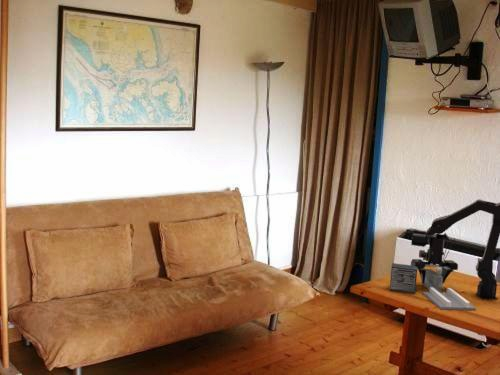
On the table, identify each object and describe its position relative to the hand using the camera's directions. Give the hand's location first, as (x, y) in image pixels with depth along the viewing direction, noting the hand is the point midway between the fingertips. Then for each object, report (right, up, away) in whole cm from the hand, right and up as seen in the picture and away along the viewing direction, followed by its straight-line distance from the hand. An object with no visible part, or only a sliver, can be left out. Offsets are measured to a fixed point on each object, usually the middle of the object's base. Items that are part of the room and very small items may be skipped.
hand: (432, 283), depth 260 cm
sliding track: (+2, -5, -16) cm, 17 cm away
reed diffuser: (+9, -1, +15) cm, 18 cm away
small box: (-14, -2, -4) cm, 15 cm away
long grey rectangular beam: (0, -2, 0) cm, 2 cm away
